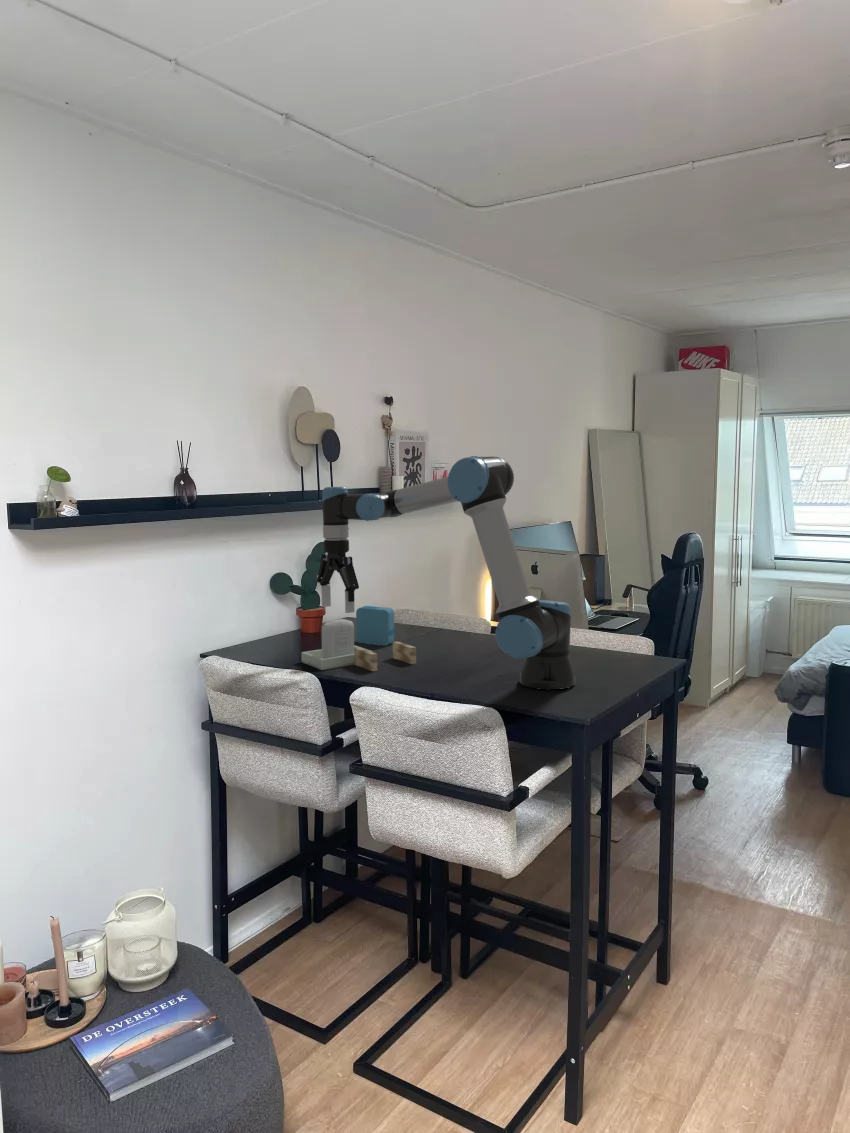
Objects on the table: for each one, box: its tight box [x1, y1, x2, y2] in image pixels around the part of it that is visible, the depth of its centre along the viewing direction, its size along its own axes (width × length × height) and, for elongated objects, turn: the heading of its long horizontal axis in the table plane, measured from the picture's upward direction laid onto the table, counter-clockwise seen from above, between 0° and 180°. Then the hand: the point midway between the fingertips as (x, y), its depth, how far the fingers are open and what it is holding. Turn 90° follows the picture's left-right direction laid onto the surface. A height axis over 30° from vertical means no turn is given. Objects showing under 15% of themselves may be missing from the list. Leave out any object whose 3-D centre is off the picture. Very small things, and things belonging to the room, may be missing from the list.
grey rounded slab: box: [321, 618, 355, 659], centre depth 256 cm, size 10×4×12 cm, turn 126°
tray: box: [301, 644, 374, 671], centre depth 257 cm, size 12×18×3 cm, turn 127°
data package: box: [355, 605, 395, 647], centre depth 281 cm, size 12×4×12 cm, turn 66°
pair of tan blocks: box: [353, 640, 417, 672], centre depth 254 cm, size 10×16×5 cm, turn 127°
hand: (337, 609), depth 255 cm, fingers open, 13 cm apart
